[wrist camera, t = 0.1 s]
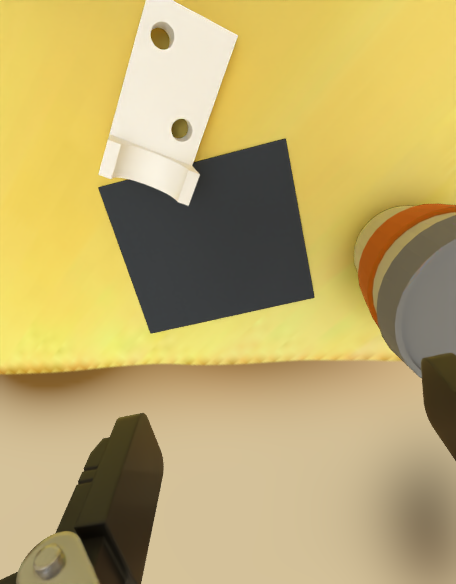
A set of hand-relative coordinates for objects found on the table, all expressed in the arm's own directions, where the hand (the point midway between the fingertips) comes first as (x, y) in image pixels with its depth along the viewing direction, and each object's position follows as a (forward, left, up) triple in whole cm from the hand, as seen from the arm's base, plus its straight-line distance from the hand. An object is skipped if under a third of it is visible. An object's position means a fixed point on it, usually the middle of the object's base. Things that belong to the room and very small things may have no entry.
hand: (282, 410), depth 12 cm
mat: (+2, -4, -29) cm, 30 cm away
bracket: (-11, -4, -29) cm, 32 cm away
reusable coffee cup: (+7, +14, -29) cm, 33 cm away
